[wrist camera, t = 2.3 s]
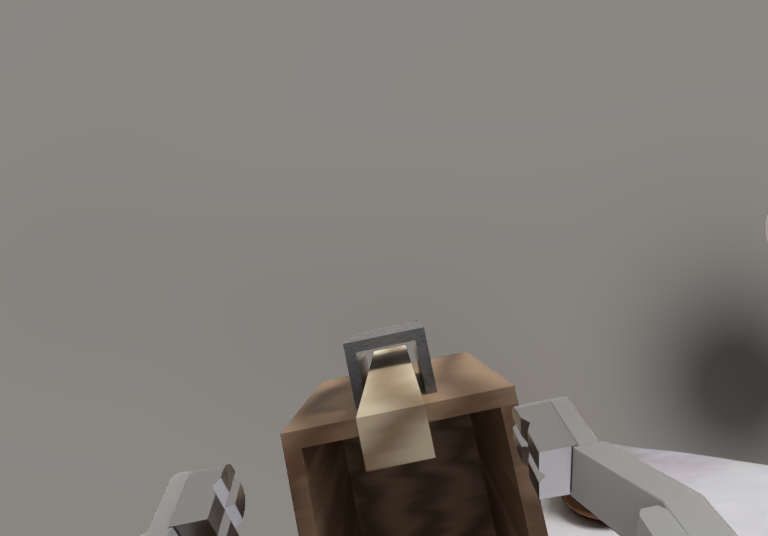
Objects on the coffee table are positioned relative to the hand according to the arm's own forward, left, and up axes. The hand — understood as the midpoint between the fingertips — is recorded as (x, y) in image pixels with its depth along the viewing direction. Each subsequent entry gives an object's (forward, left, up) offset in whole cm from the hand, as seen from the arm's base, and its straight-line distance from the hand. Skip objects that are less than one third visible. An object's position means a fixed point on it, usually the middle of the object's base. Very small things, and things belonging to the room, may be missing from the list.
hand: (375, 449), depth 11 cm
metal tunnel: (0, -31, -5) cm, 31 cm away
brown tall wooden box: (0, -33, -31) cm, 45 cm away
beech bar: (0, -26, -5) cm, 26 cm away
